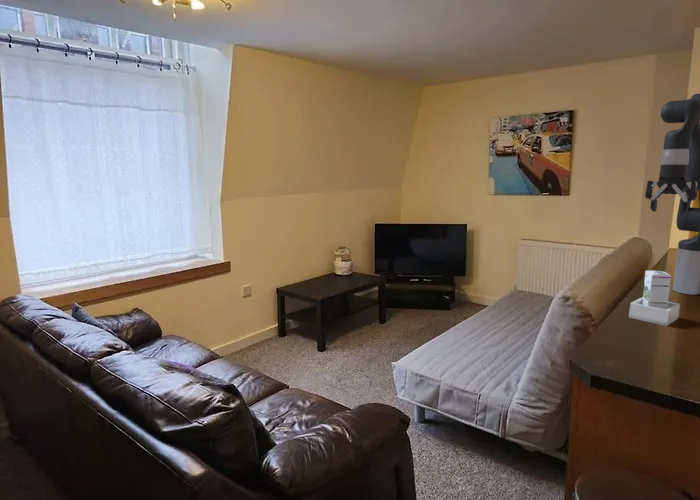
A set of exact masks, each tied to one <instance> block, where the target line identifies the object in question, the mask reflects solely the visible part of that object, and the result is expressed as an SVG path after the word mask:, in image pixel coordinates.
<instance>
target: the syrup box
mask: <svg viewBox="0 0 700 500" xmlns="http://www.w3.org/2000/svg"><path fill="white" fill-rule="evenodd" d="M671 278H672V274H669V273H668V272H666V271H663V270H645V274H644V283H643V284H644V285H643V293H642V297H643V301H642V305H646V306H651V307H656V308H661V309H667V308H668V302H669V297H670V287H671V280H672V279H671Z"/></svg>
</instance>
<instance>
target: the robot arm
mask: <svg viewBox="0 0 700 500" xmlns="http://www.w3.org/2000/svg"><path fill="white" fill-rule="evenodd" d="M660 118H661V121H663V122H664V123H665V124H682V123H683V125H682V126H681V127H680V128H679V129H674V130H673V129H672V130H670V131H667V132H666V133H665V135H664V142H663V148H662V149H663V150H662V153H661V158H660V168H659V176H658V180H656V181H655V180H652V179H651V180H648V181H647V184H646V190H645V195H644V198H645V199H648V200H650V210H651V212H653V213H654V212H657V208H658V198H660V197H661V196H662V195H663V194H664V195H669V194H670V195H678V196H679V198H680V199H679V204H678V209H677V215H676V223H675V224H676V228H677V230H679V231H685V232H696V233H697V235H696V236H694V237H691V238H686V239H681V240H679V241H678V245H677V251H676V260H675V267H674V274H673V284H672V291H673V292H676V293H679V294H684V295H700V207H691V204H692V201H696V200H697V199H698V192H699V190H700V93H695V94H692V96H691V97H690V98H687V99H682V100H680V99H679V100H672V101H671V100H670V101H668V102H666V103H665V104H664V105H663V106H662V107H661V110H660ZM656 186H657V187H658V189H657V191H656V192H655V193H654V194H653V191H654V188H655V187H656Z"/></svg>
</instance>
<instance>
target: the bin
mask: <svg viewBox="0 0 700 500" xmlns="http://www.w3.org/2000/svg"><path fill="white" fill-rule="evenodd" d="M642 301H643V296H642V297H639V298H638V299H636V300H633V301H632V302H630V304H629V310H628V311H629V312H628V318H629V319H634V320H639V321H643V322H648V323H651V324H652V323H653V324H655V325H660V326H665V327H668V326H669V325H670V324H672V323H674V322H675V321H677V320H679V315H680V306H681V304H680V303H679V302H678V303H677V302H671V301H668V308H667V309H661V308H656V307H651V306H646V305H642Z"/></svg>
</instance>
